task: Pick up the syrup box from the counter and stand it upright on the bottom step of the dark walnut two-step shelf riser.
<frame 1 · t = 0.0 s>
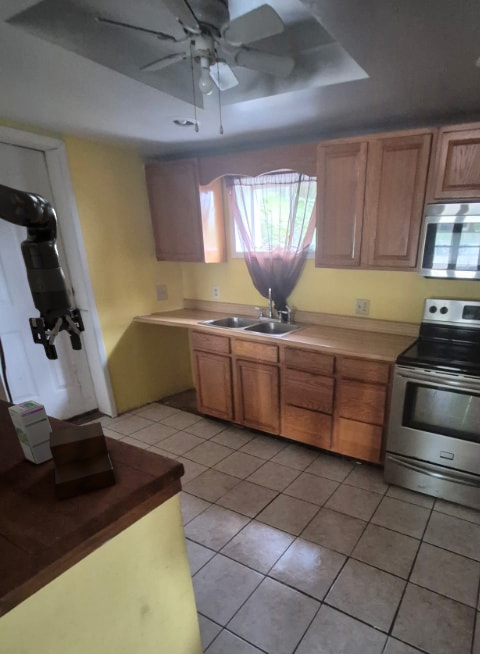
hand: (65, 354, 94), 25 cm above the table, tool pointing down, fingers open, 8 cm apart
syrup box: (42, 457, 95), on the table
shelf riser: (86, 473, 89), on the table
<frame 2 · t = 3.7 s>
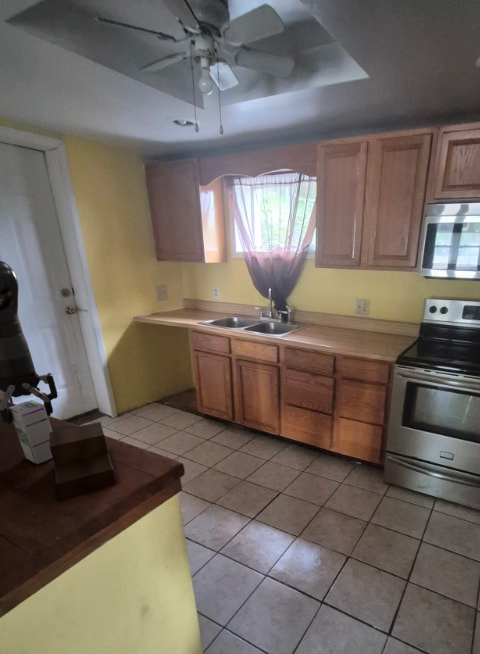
hand: (30, 418, 91), 11 cm above the table, tool pointing down, fingers closed on syrup box, 7 cm apart
syrup box: (42, 457, 95), on the table, touching gripper
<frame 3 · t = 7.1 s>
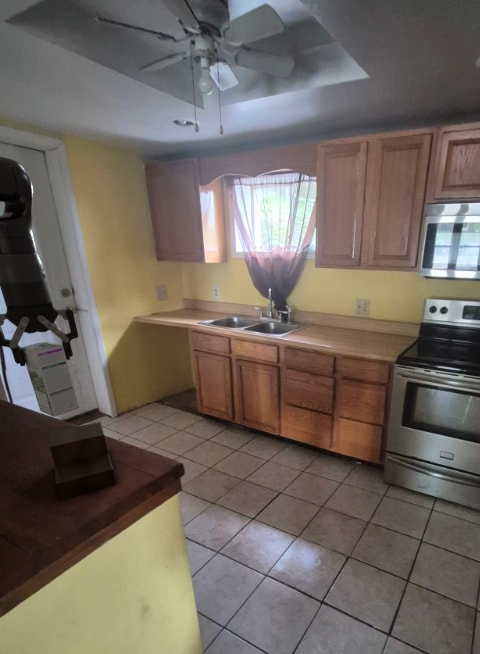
hand: (46, 361, 76), 28 cm above the table, tool pointing down, fingers closed on syrup box, 7 cm apart
syrup box: (60, 410, 81), point 17 cm above the table, touching gripper
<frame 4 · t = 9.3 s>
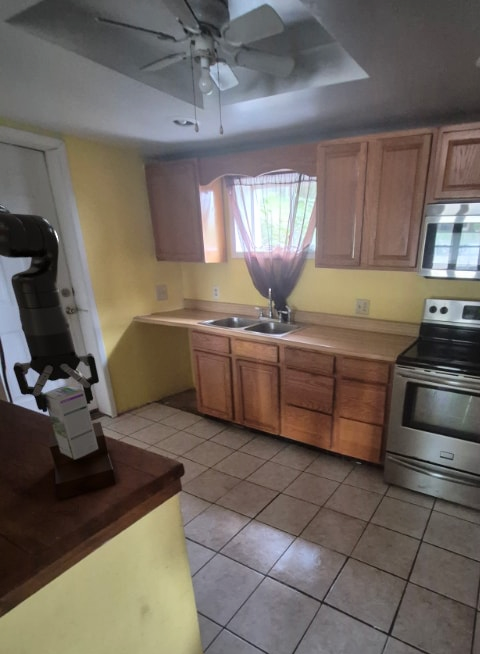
hand: (67, 406, 78), 19 cm above the table, tool pointing down, fingers closed on syrup box, 7 cm apart
syrup box: (79, 452, 82), point 8 cm above the table, touching gripper
when the fingers open (15 cm above the table, at t = 11.0 s): syrup box stays where it is, resting on shelf riser.
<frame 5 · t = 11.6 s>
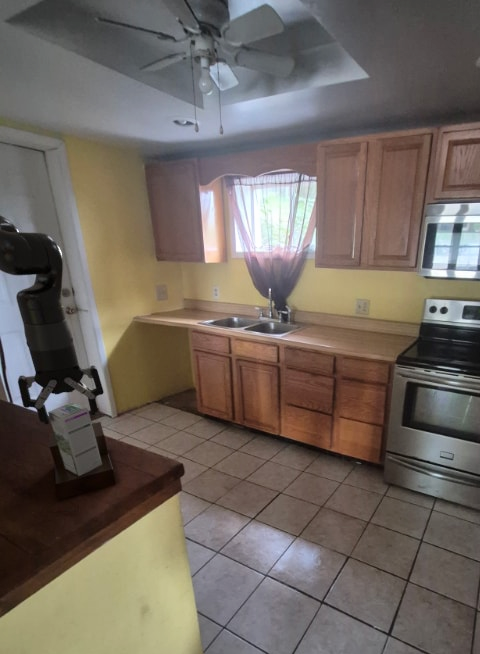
hand: (70, 418, 79), 16 cm above the table, tool pointing down, fingers open, 8 cm apart
syrup box: (83, 467, 84), point 4 cm above the table, touching shelf riser
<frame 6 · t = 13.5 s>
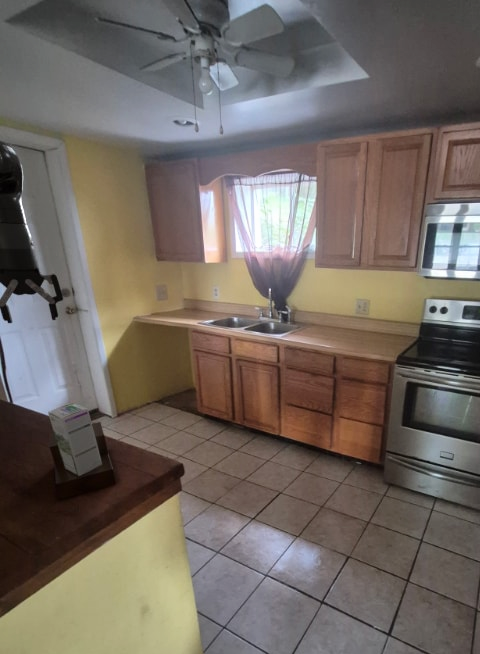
hand: (32, 321, 87), 34 cm above the table, tool pointing down, fingers open, 8 cm apart
nothing on the table moved.
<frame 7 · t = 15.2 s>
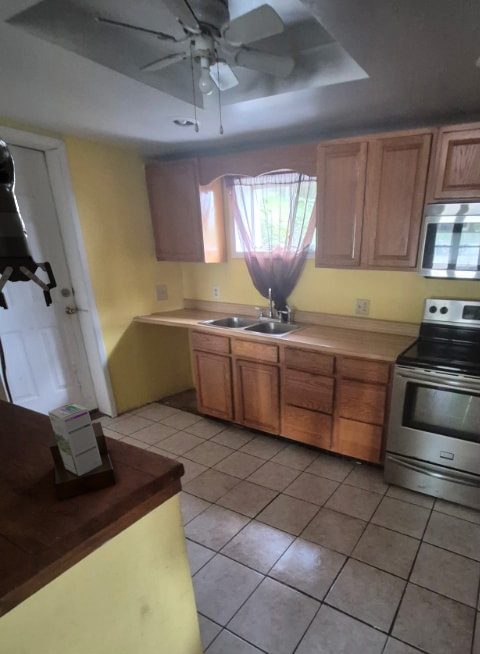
hand: (27, 307, 90), 36 cm above the table, tool pointing down, fingers open, 8 cm apart
nothing on the table moved.
at the end: syrup box inside the target area (0.1 cm from its centre), point 3.8 cm above the table; syrup box tilted 0°; the gripper is holding nothing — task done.
